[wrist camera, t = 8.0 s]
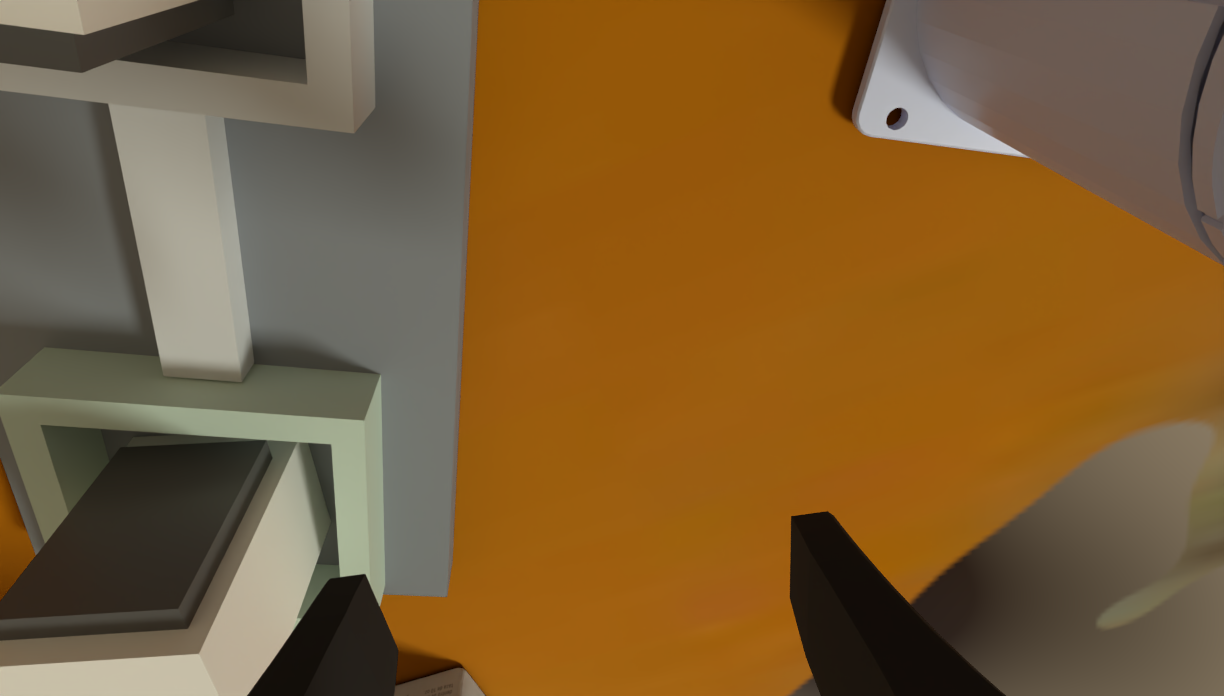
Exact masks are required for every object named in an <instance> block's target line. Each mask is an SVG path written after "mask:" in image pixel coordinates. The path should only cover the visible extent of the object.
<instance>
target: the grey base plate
mask: <svg viewBox="0 0 1224 696" xmlns="http://www.w3.org/2000/svg"><path fill="white" fill-rule="evenodd" d="M233 4H234V13H235V15H232V16H229V17H227V18H224V19H221V20H219V21H216V22H214V23H211V24H208V25H206V26H203V27H201V28H198V29H195V30H193V31H190V32H188V33H185V34H182V35H180V36H177V37H175V38H172V39H169V40H167V41H164V42H162V43H159V44H156V45H154V46H151V47H149V48H146V49H143V50H141V51H138V52H135V53H133V54H130V55H128V56H125V57H122V58H120V59H117V60H115V61H112V62H109V63H107V64H104V65H102V66H99V67H96V68H94V69H91V70H89V71H86V72H83V73H77V72H69V71H61V70H53V69H46V68H38V67H30V66H22V65H14V64H6V63H0V458H1V461H2V464H3V466H4V469H5V472H6V474H7V477H8V480H9V483H10V485H11V488H12V491H13V494H14V496H15V499H16V502H17V505H18V507H19V510H20V513H21V515H22V518H23V521H24V524H25V526H26V529H27V532H28V535H29V537H30V540H31V543H32V546H33V548H34V551H35V554H36V555H37V554H38V552H39V551H40V550H41V548H42V547H43V546H44V545H45V543H46V542H47V541H48V539H49V538H50V537H51V536H52V534H53V533H54V532H55V530H56V529H57V528H58V527H59V525H60V524H61V523H62V522H63V520H64V519H65V518H66V516H67V515H68V514H69V513H70V511H71V510H72V509H73V507H74V506H75V505H76V504H77V502H78V501H79V500H80V498H81V497H82V496H83V495H84V493H85V492H86V491H87V489H88V488H89V487H90V486H91V484H92V483H93V482H94V480H95V479H96V478H97V477H98V475H99V474H100V473H101V471H102V470H103V469H104V468H105V466H106V465H107V464H108V463H109V461H110V460H111V459H112V457H113V456H114V455H115V454H116V452H117V451H118V450H119V448H120V447H126V446H127V445H128V443H129V442H130V441H131V440H132V438H133V437H144V436H164V435H184V434H185V435H200V436H215V437H230V438H245V439H259V440H274V441H289V442H304V443H308V445H309V448H310V452H311V455H312V459H313V462H314V465H315V469H316V472H317V476H318V479H319V483H320V486H321V489H322V493H323V496H324V500H325V503H326V507H327V510H328V513H329V517H330V520H331V523H330V526H329V529H328V532H327V534H326V537H325V540H324V543H323V546H322V549H321V551H320V554H319V557H318V560H317V563H316V566H315V568H314V571H313V574H312V577H311V580H310V583H309V585H308V588H307V591H306V594H305V597H304V600H303V602H302V605H301V608H300V611H299V614H298V617H297V619H296V622H295V625H294V628H293V630H294V629H295V627H296V626H297V624H298V623H299V621H300V620H301V618H302V617H303V616H304V614H305V613H306V611H307V610H308V608H309V607H310V605H311V604H312V602H313V601H314V599H315V598H316V596H317V595H318V594H319V592H320V591H321V589H322V588H323V586H324V585H325V584H326V582H327V581H328V580H329V579H330V578H338V577H345V576H352V575H360V574H366V576H367V579H368V581H369V583H370V586H371V588H372V590H373V593H374V595H375V597H376V599H377V602H378V604H379V606H380V604H381V600H382V596H383V594H389V595H413V596H437V597H447V594H448V587H449V580H450V574H451V567H452V558H453V537H454V516H455V494H456V473H457V452H458V430H459V409H460V388H461V366H462V345H463V324H464V302H465V281H466V260H467V238H468V217H469V196H470V174H471V153H472V132H473V110H474V89H475V68H476V46H477V25H478V4H479V0H233ZM292 632H293V631H292Z"/></svg>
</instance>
